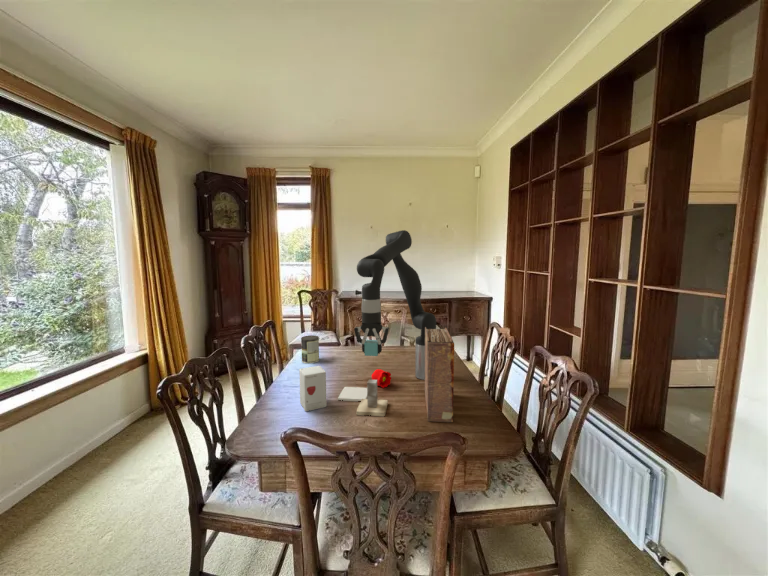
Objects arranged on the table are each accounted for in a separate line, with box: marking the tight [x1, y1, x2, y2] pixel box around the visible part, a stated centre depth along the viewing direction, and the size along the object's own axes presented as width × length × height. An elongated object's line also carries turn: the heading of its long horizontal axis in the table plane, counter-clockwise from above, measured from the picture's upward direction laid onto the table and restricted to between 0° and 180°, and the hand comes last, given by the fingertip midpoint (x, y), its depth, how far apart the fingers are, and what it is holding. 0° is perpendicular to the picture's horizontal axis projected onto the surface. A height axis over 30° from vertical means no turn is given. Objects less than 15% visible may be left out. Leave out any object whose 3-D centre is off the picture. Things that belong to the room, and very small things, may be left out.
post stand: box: [355, 379, 389, 417], centre depth 126 cm, size 11×11×12 cm
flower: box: [371, 368, 392, 389], centre depth 150 cm, size 8×8×8 cm
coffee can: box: [300, 335, 320, 364], centre depth 187 cm, size 10×10×14 cm
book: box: [424, 327, 455, 423], centre depth 127 cm, size 25×9×30 cm, turn 175°
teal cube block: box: [364, 339, 379, 357], centre depth 124 cm, size 5×5×5 cm
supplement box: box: [299, 365, 327, 412], centre depth 130 cm, size 9×9×15 cm
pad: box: [337, 386, 367, 402], centre depth 140 cm, size 12×12×1 cm
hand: (371, 352), depth 125 cm, fingers closed on teal cube block, 5 cm apart
